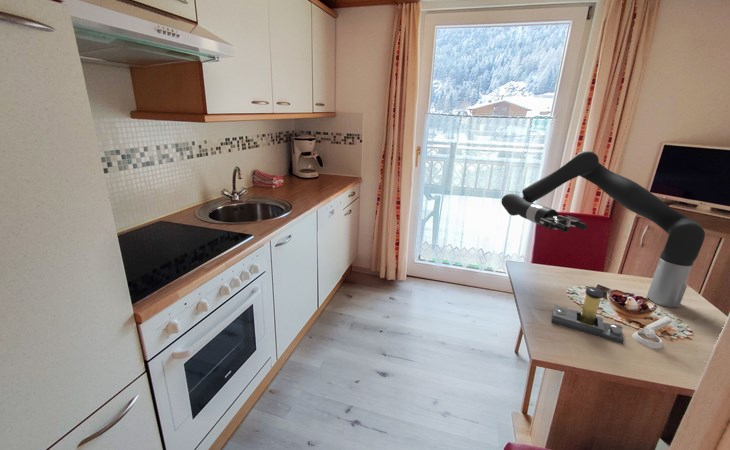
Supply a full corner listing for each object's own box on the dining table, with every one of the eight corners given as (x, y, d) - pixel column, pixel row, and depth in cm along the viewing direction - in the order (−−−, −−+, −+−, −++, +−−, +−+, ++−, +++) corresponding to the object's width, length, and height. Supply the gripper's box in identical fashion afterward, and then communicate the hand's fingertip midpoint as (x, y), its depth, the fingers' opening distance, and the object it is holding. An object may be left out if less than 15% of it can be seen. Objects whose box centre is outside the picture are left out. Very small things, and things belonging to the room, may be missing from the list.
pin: (593, 325, 113) (603, 289, 108) (593, 332, 109) (604, 295, 104) (576, 320, 115) (586, 285, 111) (576, 327, 111) (586, 291, 107)
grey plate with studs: (620, 331, 110) (622, 322, 109) (622, 344, 103) (625, 335, 102) (552, 312, 120) (554, 303, 119) (551, 322, 113) (553, 314, 112)
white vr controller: (693, 341, 97) (676, 328, 97) (652, 358, 104) (636, 346, 103) (679, 322, 104) (663, 310, 103) (642, 340, 110) (626, 328, 110)
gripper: (528, 207, 130) (564, 220, 115) (556, 205, 134) (594, 216, 119) (525, 225, 132) (559, 240, 118) (553, 222, 136) (589, 236, 122)
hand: (577, 228), depth 118 cm, fingers open, 8 cm apart
